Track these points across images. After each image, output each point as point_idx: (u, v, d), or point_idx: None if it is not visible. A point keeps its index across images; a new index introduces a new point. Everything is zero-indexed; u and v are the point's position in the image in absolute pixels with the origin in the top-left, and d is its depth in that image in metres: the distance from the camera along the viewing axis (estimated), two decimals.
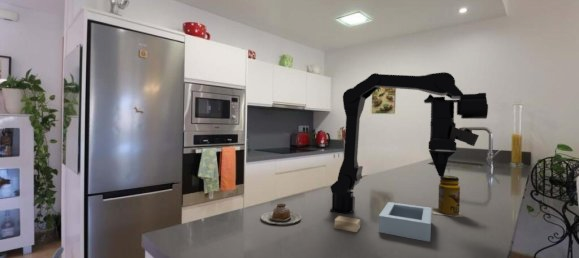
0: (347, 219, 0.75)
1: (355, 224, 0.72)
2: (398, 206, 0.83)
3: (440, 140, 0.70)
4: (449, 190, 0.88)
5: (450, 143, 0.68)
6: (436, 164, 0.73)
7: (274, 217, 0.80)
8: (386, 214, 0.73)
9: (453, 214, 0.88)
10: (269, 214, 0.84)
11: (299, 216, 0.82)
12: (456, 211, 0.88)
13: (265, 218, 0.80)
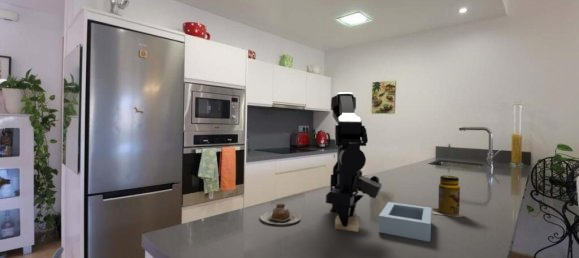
0: None
1: (356, 222, 0.72)
2: (398, 206, 0.83)
3: (335, 194, 0.67)
4: (449, 190, 0.88)
5: (344, 198, 0.66)
6: (339, 215, 0.72)
7: (273, 217, 0.79)
8: (386, 214, 0.73)
9: (453, 214, 0.88)
10: (268, 214, 0.84)
11: (298, 216, 0.81)
12: (456, 211, 0.88)
13: (264, 218, 0.80)
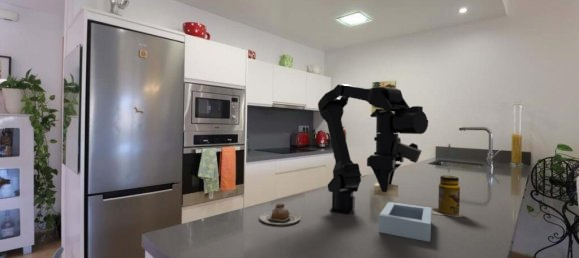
0: None
1: (396, 188, 0.73)
2: (398, 206, 0.83)
3: (377, 157, 0.68)
4: (449, 190, 0.88)
5: (386, 160, 0.66)
6: (379, 180, 0.73)
7: (273, 217, 0.79)
8: (386, 214, 0.73)
9: (453, 214, 0.88)
10: (268, 214, 0.84)
11: (298, 216, 0.81)
12: (456, 211, 0.88)
13: (264, 218, 0.80)
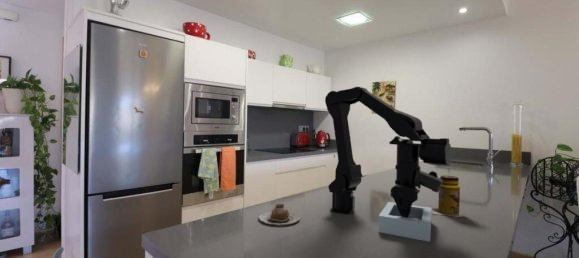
0: None
1: None
2: None
3: (401, 188, 0.68)
4: (449, 190, 0.88)
5: (411, 192, 0.67)
6: (400, 210, 0.73)
7: (272, 217, 0.79)
8: (386, 214, 0.73)
9: (453, 214, 0.88)
10: (267, 215, 0.83)
11: (297, 216, 0.81)
12: (456, 211, 0.88)
13: (263, 219, 0.80)
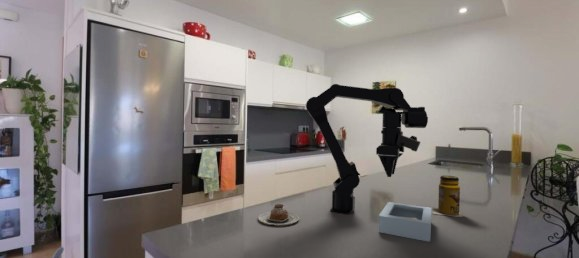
0: None
1: None
2: (398, 206, 0.83)
3: (385, 147, 0.82)
4: (449, 190, 0.88)
5: (393, 149, 0.80)
6: (385, 167, 0.86)
7: (272, 218, 0.79)
8: (386, 214, 0.73)
9: (453, 214, 0.88)
10: (267, 215, 0.83)
11: (297, 217, 0.81)
12: (456, 211, 0.88)
13: (263, 219, 0.79)
